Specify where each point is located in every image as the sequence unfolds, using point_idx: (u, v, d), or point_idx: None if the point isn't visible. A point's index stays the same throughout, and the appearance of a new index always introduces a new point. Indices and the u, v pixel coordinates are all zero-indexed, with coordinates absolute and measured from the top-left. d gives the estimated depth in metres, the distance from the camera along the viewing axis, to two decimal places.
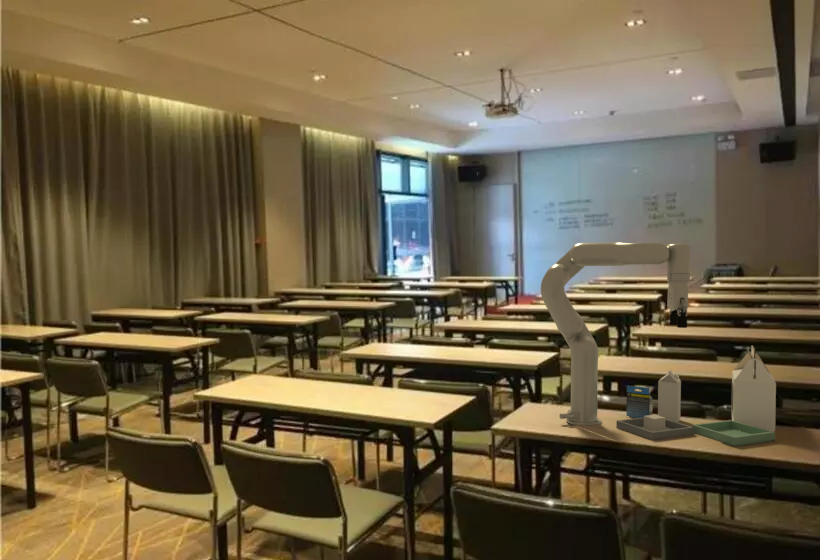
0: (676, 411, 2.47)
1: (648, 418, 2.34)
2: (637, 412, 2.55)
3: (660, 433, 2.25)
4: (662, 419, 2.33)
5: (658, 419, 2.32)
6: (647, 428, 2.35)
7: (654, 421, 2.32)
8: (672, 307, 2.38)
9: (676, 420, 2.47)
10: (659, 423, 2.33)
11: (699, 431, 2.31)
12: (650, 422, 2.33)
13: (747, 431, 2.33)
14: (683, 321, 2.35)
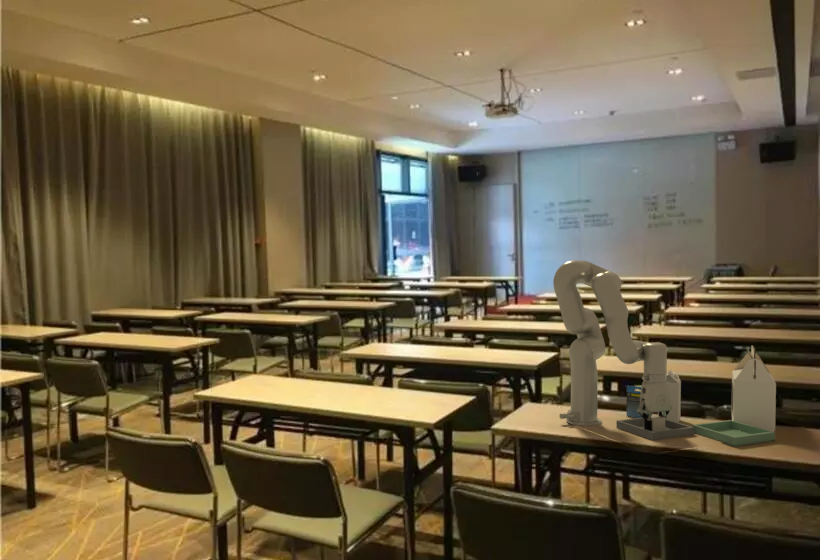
0: (676, 411, 2.47)
1: None
2: (637, 412, 2.55)
3: (660, 433, 2.25)
4: (662, 419, 2.33)
5: (658, 419, 2.32)
6: None
7: (654, 421, 2.32)
8: (667, 408, 2.33)
9: (676, 420, 2.47)
10: (659, 423, 2.33)
11: (699, 431, 2.31)
12: None
13: (747, 431, 2.33)
14: None
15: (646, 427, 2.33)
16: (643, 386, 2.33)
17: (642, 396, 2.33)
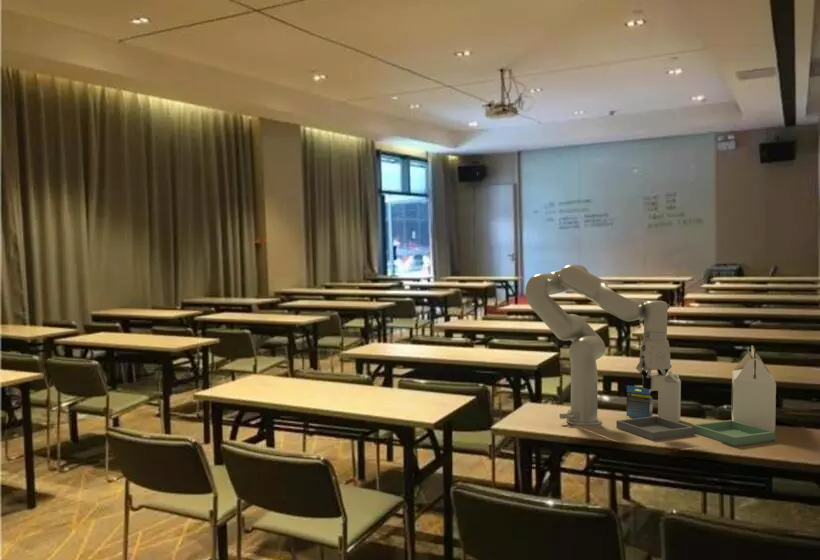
0: (676, 411, 2.47)
1: None
2: (637, 412, 2.55)
3: (660, 433, 2.25)
4: (662, 377, 2.33)
5: (657, 377, 2.32)
6: None
7: (653, 378, 2.32)
8: (666, 366, 2.33)
9: (676, 420, 2.47)
10: (658, 381, 2.32)
11: (699, 431, 2.31)
12: None
13: (747, 431, 2.33)
14: None
15: (645, 384, 2.33)
16: (643, 343, 2.33)
17: (642, 353, 2.33)
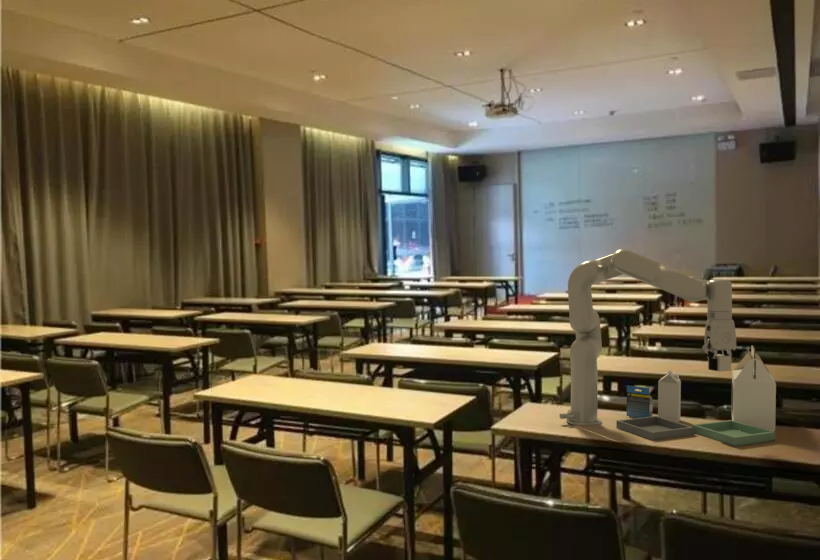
0: (676, 411, 2.47)
1: None
2: (637, 412, 2.55)
3: (660, 433, 2.25)
4: (728, 357, 2.27)
5: (724, 357, 2.26)
6: None
7: (720, 359, 2.26)
8: (732, 346, 2.27)
9: (676, 420, 2.47)
10: (725, 361, 2.27)
11: (699, 431, 2.31)
12: None
13: (747, 431, 2.33)
14: None
15: (711, 366, 2.27)
16: (708, 324, 2.27)
17: (707, 334, 2.27)
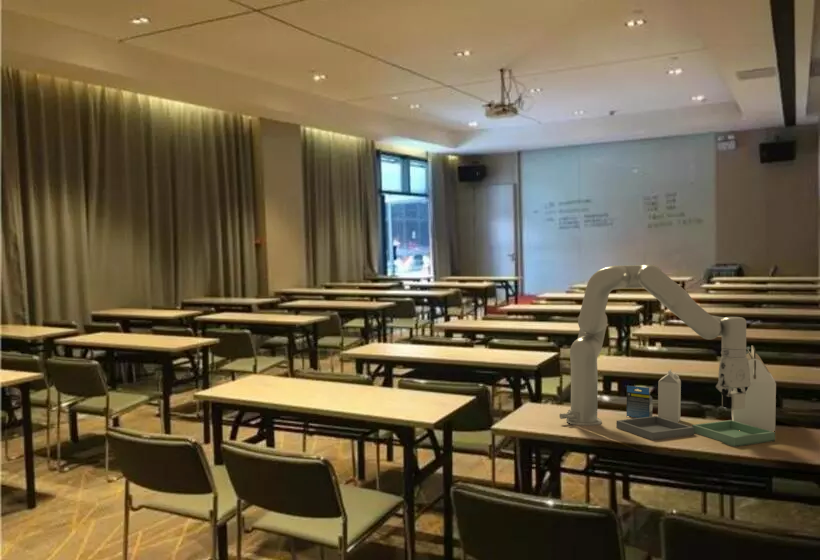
0: (676, 411, 2.47)
1: None
2: (637, 412, 2.55)
3: (660, 433, 2.25)
4: (742, 395, 2.26)
5: (738, 395, 2.26)
6: None
7: (734, 397, 2.25)
8: (746, 384, 2.27)
9: (676, 420, 2.47)
10: (739, 399, 2.26)
11: (699, 431, 2.31)
12: None
13: (747, 431, 2.33)
14: None
15: (725, 403, 2.27)
16: (722, 361, 2.27)
17: (721, 372, 2.27)
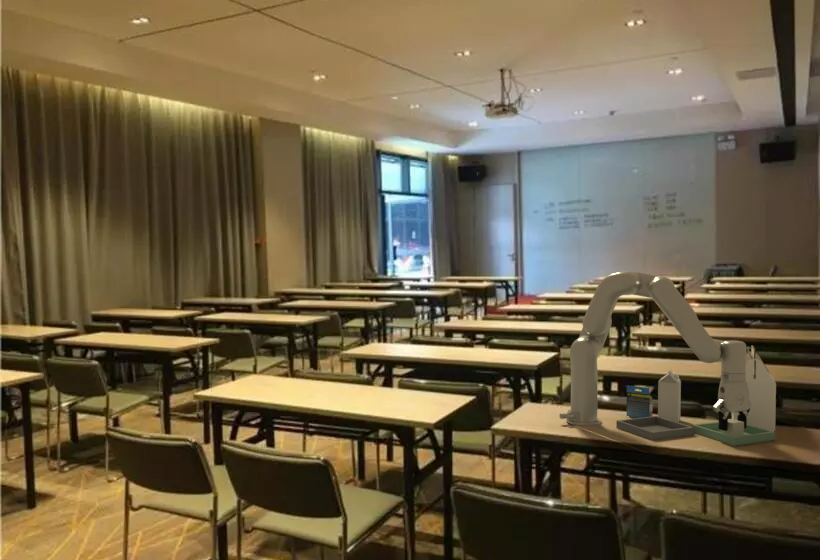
0: (676, 411, 2.47)
1: None
2: (637, 412, 2.55)
3: (660, 433, 2.25)
4: (741, 423, 2.27)
5: (737, 423, 2.26)
6: (725, 433, 2.28)
7: (733, 425, 2.26)
8: (746, 408, 2.27)
9: (676, 420, 2.47)
10: (738, 428, 2.26)
11: (699, 431, 2.31)
12: (728, 426, 2.27)
13: (747, 431, 2.33)
14: None
15: (721, 426, 2.26)
16: (721, 385, 2.27)
17: (720, 395, 2.27)
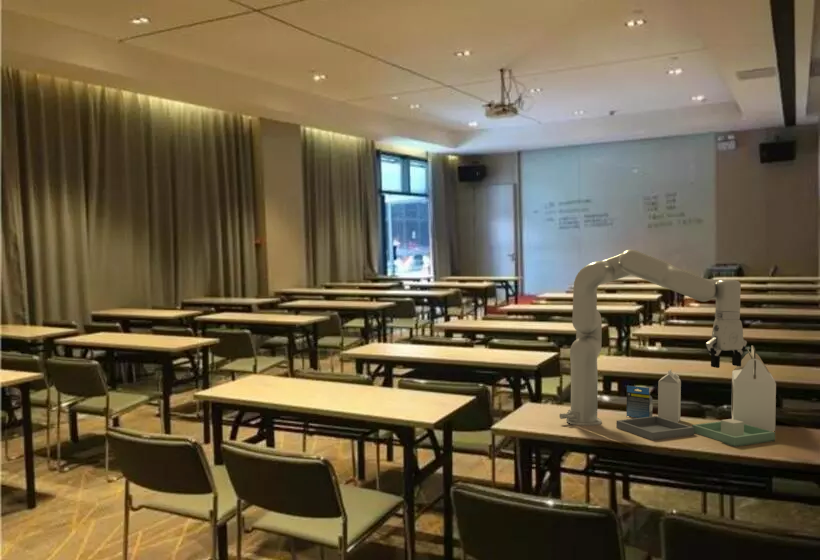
0: (676, 411, 2.47)
1: (726, 422, 2.28)
2: (637, 412, 2.55)
3: (660, 433, 2.25)
4: (741, 423, 2.27)
5: (737, 423, 2.26)
6: (725, 433, 2.28)
7: (733, 425, 2.26)
8: (739, 347, 2.27)
9: (676, 420, 2.47)
10: (738, 428, 2.26)
11: (699, 431, 2.31)
12: (728, 426, 2.27)
13: (747, 431, 2.33)
14: None
15: (713, 363, 2.27)
16: (715, 324, 2.27)
17: (714, 334, 2.27)
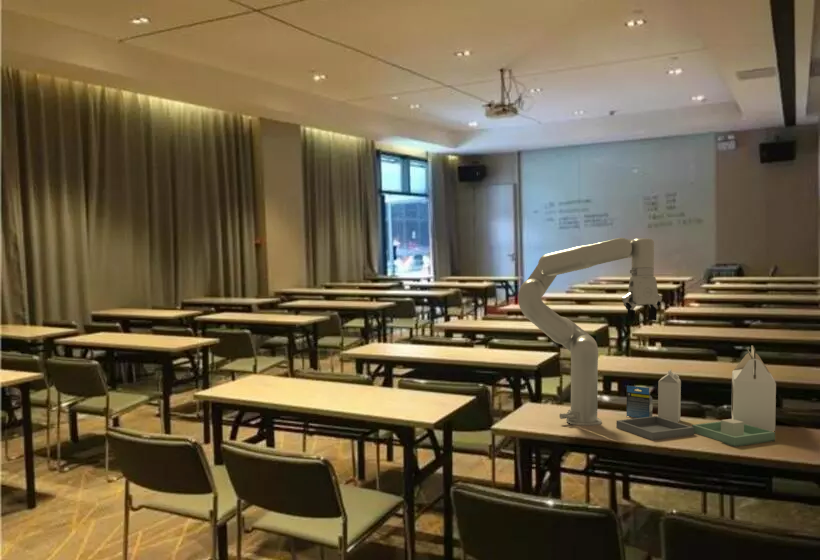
0: (676, 411, 2.47)
1: (726, 422, 2.28)
2: (637, 412, 2.55)
3: (660, 433, 2.25)
4: (741, 423, 2.27)
5: (737, 423, 2.26)
6: (725, 433, 2.28)
7: (733, 425, 2.26)
8: (654, 301, 2.41)
9: (676, 420, 2.47)
10: (738, 428, 2.26)
11: (699, 431, 2.31)
12: (728, 426, 2.27)
13: (747, 431, 2.33)
14: None
15: (629, 317, 2.40)
16: (631, 280, 2.41)
17: (630, 289, 2.41)
